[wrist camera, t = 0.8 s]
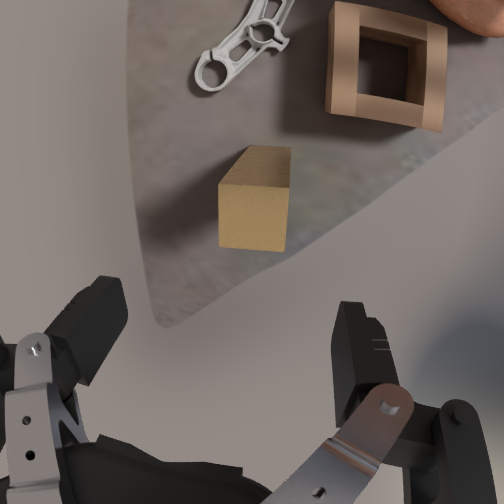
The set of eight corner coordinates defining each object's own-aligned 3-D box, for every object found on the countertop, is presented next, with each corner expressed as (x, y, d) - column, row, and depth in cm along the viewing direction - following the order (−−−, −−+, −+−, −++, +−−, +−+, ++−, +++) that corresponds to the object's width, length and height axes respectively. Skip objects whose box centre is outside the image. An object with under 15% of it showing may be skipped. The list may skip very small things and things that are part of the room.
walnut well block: (328, 14, 23) (335, 0, 18) (425, 34, 22) (447, 27, 17) (324, 110, 27) (330, 113, 23) (420, 126, 26) (441, 132, 22)
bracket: (164, 50, 25) (286, -43, 19) (172, 52, 26) (286, -36, 20) (214, 103, 27) (340, 10, 21) (218, 102, 29) (338, 15, 23)
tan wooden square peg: (249, 145, 30) (218, 184, 18) (290, 147, 30) (289, 188, 17) (248, 183, 32) (219, 246, 20) (288, 186, 31) (284, 252, 19)
